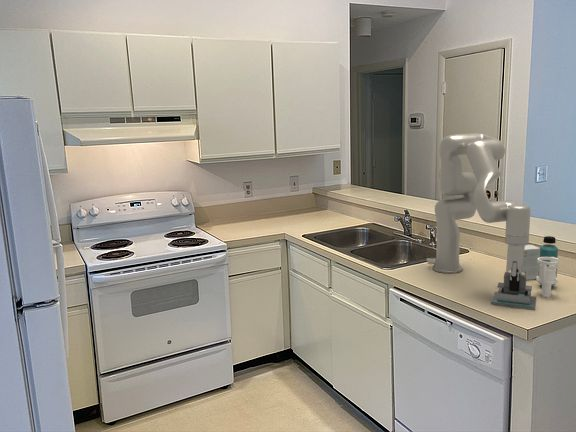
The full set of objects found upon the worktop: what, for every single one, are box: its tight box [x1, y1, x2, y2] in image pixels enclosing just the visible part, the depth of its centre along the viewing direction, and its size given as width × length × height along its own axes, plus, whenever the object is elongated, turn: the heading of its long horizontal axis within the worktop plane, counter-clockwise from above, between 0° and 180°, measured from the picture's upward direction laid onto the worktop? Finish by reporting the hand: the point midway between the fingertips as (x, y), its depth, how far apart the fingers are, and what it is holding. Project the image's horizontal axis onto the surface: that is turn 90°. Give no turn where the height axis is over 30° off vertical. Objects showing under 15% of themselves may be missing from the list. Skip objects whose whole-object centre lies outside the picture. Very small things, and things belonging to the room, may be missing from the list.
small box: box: [521, 244, 540, 281], centre depth 200 cm, size 8×6×13 cm
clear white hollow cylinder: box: [535, 257, 560, 298], centre depth 180 cm, size 7×7×15 cm
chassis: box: [490, 287, 537, 311], centre depth 176 cm, size 14×11×4 cm
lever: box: [497, 271, 533, 294], centre depth 175 cm, size 11×4×9 cm, turn 61°
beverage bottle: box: [538, 235, 559, 287], centre depth 188 cm, size 6×7×20 cm
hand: (514, 288), depth 176 cm, fingers closed on lever, 4 cm apart
